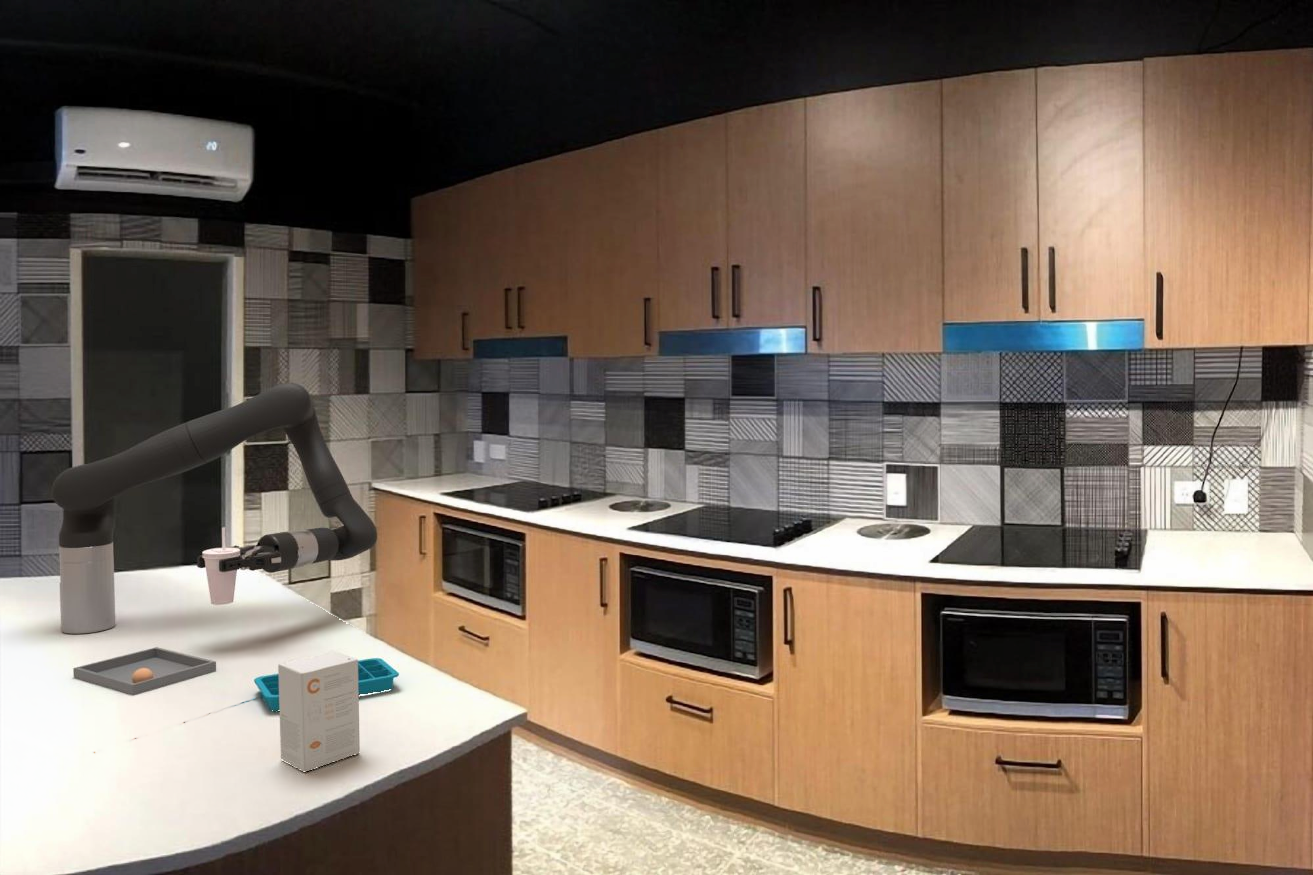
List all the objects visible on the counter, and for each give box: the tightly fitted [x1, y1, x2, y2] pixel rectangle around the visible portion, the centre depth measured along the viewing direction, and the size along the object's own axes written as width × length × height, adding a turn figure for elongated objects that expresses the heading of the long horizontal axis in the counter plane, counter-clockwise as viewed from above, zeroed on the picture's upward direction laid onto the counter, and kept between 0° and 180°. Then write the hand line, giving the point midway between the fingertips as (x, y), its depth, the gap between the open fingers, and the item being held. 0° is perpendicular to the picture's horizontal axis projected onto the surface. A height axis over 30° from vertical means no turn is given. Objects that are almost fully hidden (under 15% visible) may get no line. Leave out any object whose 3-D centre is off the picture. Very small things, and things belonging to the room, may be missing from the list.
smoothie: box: [201, 526, 240, 606], centre depth 166 cm, size 6×6×14 cm
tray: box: [72, 646, 217, 696], centre depth 152 cm, size 17×14×2 cm
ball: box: [132, 668, 153, 683], centre depth 145 cm, size 3×3×3 cm
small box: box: [277, 650, 361, 772], centre depth 118 cm, size 8×6×13 cm
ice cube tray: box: [253, 657, 400, 711], centre depth 144 cm, size 12×20×3 cm, turn 124°
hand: (209, 564), depth 164 cm, fingers closed on smoothie, 6 cm apart
